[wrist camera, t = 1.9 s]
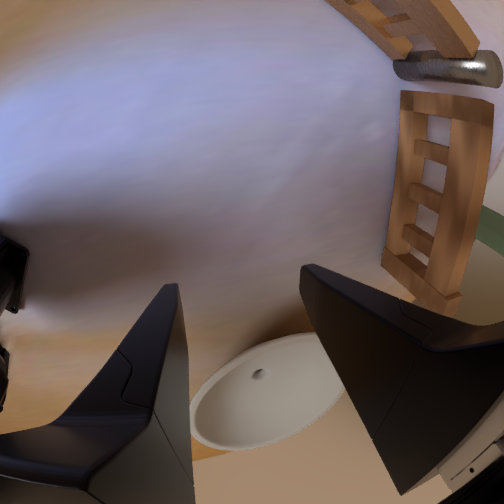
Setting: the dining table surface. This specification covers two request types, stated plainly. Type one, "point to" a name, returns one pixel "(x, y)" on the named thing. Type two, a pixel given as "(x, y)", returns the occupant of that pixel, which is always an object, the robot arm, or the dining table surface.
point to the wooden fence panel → (439, 33)
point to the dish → (265, 394)
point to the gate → (438, 196)
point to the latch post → (491, 229)
